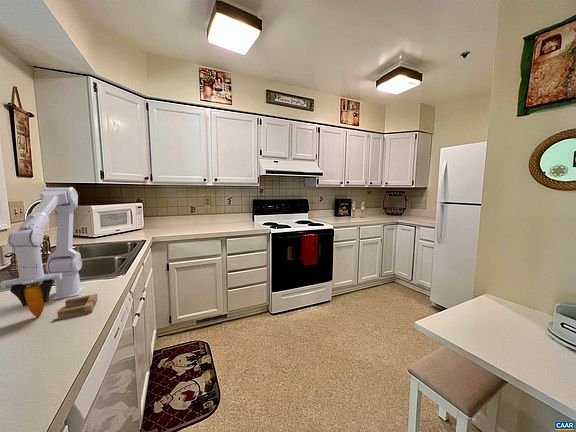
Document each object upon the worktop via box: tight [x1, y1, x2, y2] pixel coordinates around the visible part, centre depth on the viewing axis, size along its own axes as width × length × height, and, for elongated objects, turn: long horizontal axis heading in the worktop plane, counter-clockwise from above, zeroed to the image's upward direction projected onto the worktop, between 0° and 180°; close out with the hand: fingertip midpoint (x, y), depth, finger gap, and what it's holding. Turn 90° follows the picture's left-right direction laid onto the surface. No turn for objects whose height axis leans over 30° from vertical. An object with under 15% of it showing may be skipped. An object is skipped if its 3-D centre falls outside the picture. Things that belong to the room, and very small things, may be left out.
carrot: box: [24, 281, 46, 318], centre depth 84 cm, size 5×5×15 cm
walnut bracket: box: [57, 293, 99, 320], centre depth 90 cm, size 11×9×2 cm
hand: (36, 303), depth 84 cm, fingers closed on carrot, 4 cm apart
